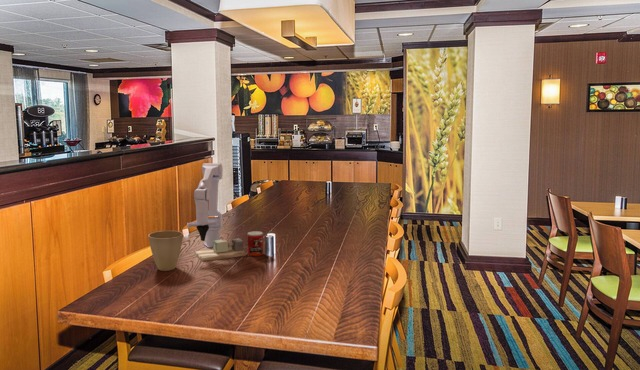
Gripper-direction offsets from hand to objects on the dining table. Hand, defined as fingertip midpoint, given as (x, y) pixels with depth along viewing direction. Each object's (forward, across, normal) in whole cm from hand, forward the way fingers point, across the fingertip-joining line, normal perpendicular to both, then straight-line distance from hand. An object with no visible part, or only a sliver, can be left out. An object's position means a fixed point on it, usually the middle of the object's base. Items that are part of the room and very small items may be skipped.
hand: (202, 240), depth 243 cm
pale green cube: (+6, +9, 0) cm, 11 cm away
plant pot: (+9, -20, -11) cm, 24 cm away
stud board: (+8, +8, 0) cm, 12 cm away
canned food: (+9, +24, -7) cm, 27 cm away
